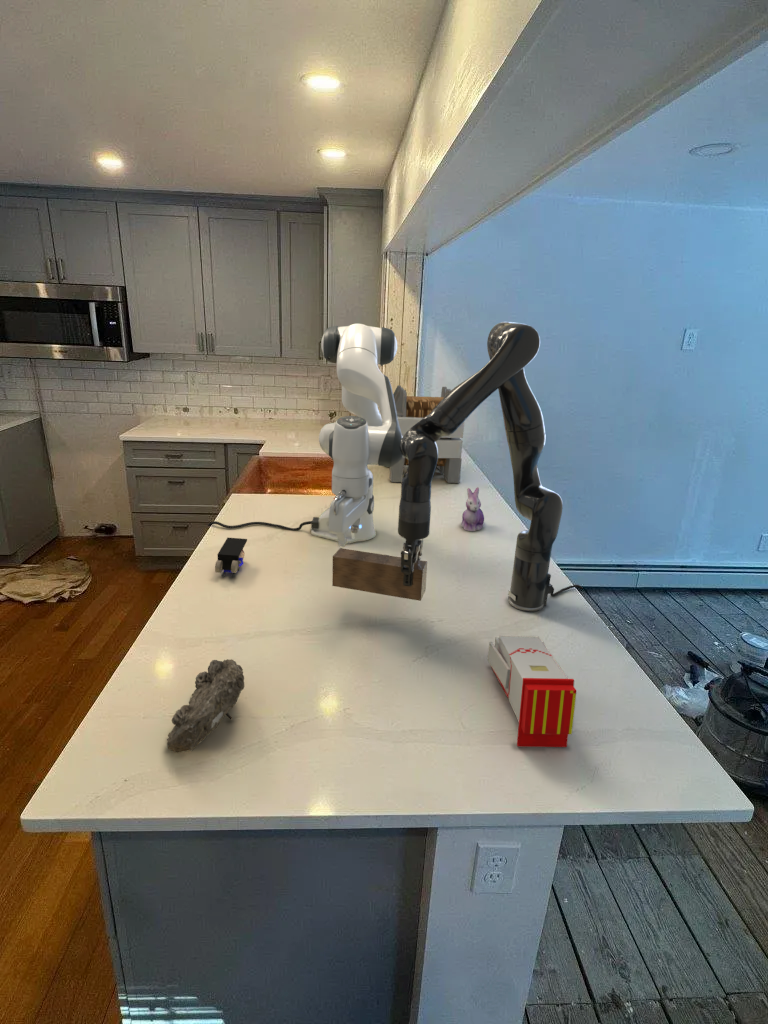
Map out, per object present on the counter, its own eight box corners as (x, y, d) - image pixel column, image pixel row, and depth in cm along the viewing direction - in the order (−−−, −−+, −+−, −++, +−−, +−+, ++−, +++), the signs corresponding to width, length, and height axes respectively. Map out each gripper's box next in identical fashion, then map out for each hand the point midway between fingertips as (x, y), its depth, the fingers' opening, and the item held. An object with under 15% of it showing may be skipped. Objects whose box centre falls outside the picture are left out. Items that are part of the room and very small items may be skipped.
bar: (332, 586, 144) (332, 556, 141) (339, 576, 149) (340, 547, 146) (420, 601, 138) (422, 570, 135) (425, 591, 143) (427, 561, 140)
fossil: (192, 660, 117) (244, 628, 112) (224, 691, 120) (276, 661, 115) (142, 746, 98) (202, 712, 93) (182, 779, 101) (242, 748, 96)
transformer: (382, 463, 289) (386, 382, 275) (445, 464, 293) (451, 384, 279) (390, 482, 257) (394, 392, 243) (460, 483, 261) (468, 394, 247)
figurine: (470, 533, 202) (474, 493, 197) (453, 524, 211) (457, 485, 206) (491, 530, 207) (495, 491, 202) (474, 520, 215) (478, 483, 210)
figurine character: (238, 584, 162) (249, 557, 175) (236, 562, 158) (247, 536, 172) (215, 584, 161) (227, 556, 175) (212, 561, 158) (225, 535, 171)
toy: (536, 619, 129) (586, 686, 99) (531, 673, 131) (578, 754, 102) (483, 618, 128) (517, 685, 99) (479, 672, 131) (511, 753, 102)
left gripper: (348, 499, 126) (346, 556, 131) (374, 476, 145) (372, 527, 149) (321, 495, 128) (321, 552, 132) (351, 473, 146) (350, 523, 151)
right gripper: (423, 528, 127) (419, 595, 133) (435, 508, 140) (431, 570, 146) (391, 524, 129) (388, 590, 134) (406, 504, 142) (403, 566, 148)
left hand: (348, 538), depth 141 cm, fingers open, 8 cm apart
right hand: (410, 579), depth 140 cm, fingers closed on bar, 5 cm apart
